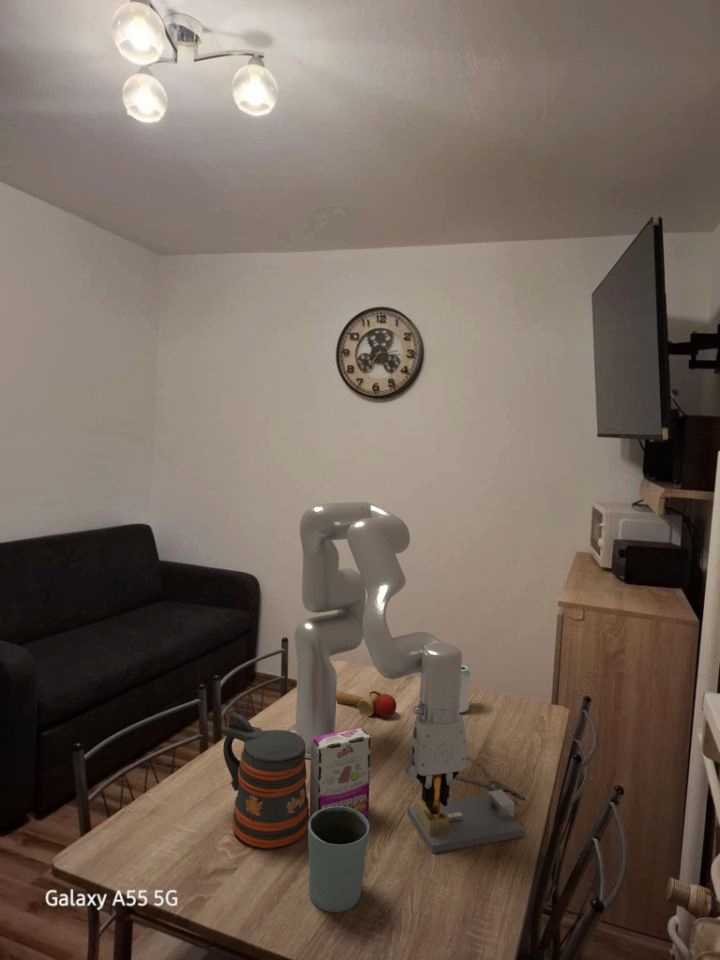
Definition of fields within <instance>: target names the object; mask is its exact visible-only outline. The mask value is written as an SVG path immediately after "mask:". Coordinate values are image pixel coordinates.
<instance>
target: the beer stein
mask: <svg viewBox="0 0 720 960" xmlns="http://www.w3.org/2000/svg"><path fill="white" fill-rule="evenodd" d="M221 735H222V736H225V739H224V742H223V749H222V750H223V757H224V761H225V764H226V767H227V769H228V772H229V774H230V777H231V779H232V780H231V781H230V785H231V787H232V788H233V790H234V792H237V794H236V796H235V797H236V798H235V800H234V809H233V819H232V830H233V832H234V834H235V835H236V836H237V837H238V838H239V839H240V840H241V841H242V842H243V843H246V844H247V845H250V846H252V847H255V848H258V847H259V849H277V847H278V848H282V847H286V846H288V845H291V844H294V843H295V842H297V841H298V840H300V839H301V838H302V837H303V836H304V835H305V834H306V832H308V822H309V819H310V803H309V798H308V794H307V783H306V780H307V777H308V775H307V765H306V758H305V754H306V749H305V742H304V740H303V739H302V738H301V737H300V736H299V735H297V734H295V733H293V732H290V731H289V730H284V729H283V730H282V729H268V730H263V729H261V728H260V727H257V726H256V727H255V726H252V724H251V723H250V722H249V720H248V719H247V718H246V717H245V716H243V715H241V714H239V713H237V712H236V711H232V712H231V713H230V714H229V718H228V725H227V726H225V727H223V728H222V729H221ZM235 739H236V740H238V741H240V742H241V741H242V742H243V743H244V744H243V750H242V752H241V753H240V760H239V758H237V757H236V755H235V753H234V751H233V743H234V741H235Z"/></svg>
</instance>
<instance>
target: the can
mask: <svg viewBox="0 0 720 960" xmlns="http://www.w3.org/2000/svg"><path fill="white" fill-rule="evenodd" d="M470 689H471V672H470V671H469V667H468V666H467V665H466V664H463V663H462V671H461V691H460V711H459V714H463V713H465V712H467V711H468V710H469V708H470V691H471V690H470Z"/></svg>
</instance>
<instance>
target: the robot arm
mask: <svg viewBox="0 0 720 960" xmlns="http://www.w3.org/2000/svg"><path fill="white" fill-rule="evenodd" d="M409 530H410V529H409V528H408V526H407V524H406V523H405V522H404V520H402V518H400V516H397V515H396V514H394V513H393V512H390V511H389V510H386V509H384V508H381V507H379V506H378V505H375V504H373V503H370V502H367V501H352V502H351V501H350V502H330V503H329V502H327V503H322V504H321V503H320V504H316V505H313V506H310V507H309V508H307V509H306V510H305V512H304V513H303V515H302V516H301V519H300V523H299V537H300V542H301V546H302V548H301V549H302V577H301V586H302V587H301V599H302V604H303V607H304V608H305V610H307V611H308V612H309V613H314V614H319V613H326V612H331V611H336V613H335V612H334V613H331V614H329V613H328V614H324V615H318V616H314V617H309V618H306V619H304V620H302V621H301V622H300V623H298V625H297V626H296V627H295V629H294V632H293V643H294V650H295V654H296V673H297V674H296V675H297V676H296V701H295V704H296V705H295V708H296V709H295V710H296V711H295V724H292V728H291V729H288V731H290V732H293V733H295V734H297V735H299V736H300V737H301V738H302V739H303V740H304V742H305V749H306V754H305V759H309V760H311V738H312V737H317V736H321V735H326V734H330V733H335V732H336V721H337V720H336V717H337V715H336V714H337V701H336V696H337V688H338V687H337V685H338V675H337V671H336V669H335V666H333V664H332V662H331V660H330V657H331V656H336V655H339V654H342V653H348V652H349V651H353V650H356V649H358V648H359V647H360V646H361V644H362V642H363V640H364V642H365V645H366V648H367V651H368V653H369V655H370V658H371V661H372V663H373V665H374V667H375V668H376V670H377V672H378V673H379V674H380V675H381V676H382V677H384V678H386V679H389V680H396V679H400V678H404V677H407V676H411V675H413V674H418V673H419V674H421V675H420V691H419V693H420V694H419V695H420V696H419V701H418V705H416V706H414V707H413V708H412V712H413V714H414V715H416V716H415V719H414V723H413V727H412V733H411V740H410V747H409V749H410V750H409V762H408V764H407V766H406V767H405V770H404V771H405V774H406V775H407V777H408V778H411V779H414V780H418V781H419V782H420V783H421V799H422V800H423V801H424V802H425V803H426V805H427V806H428V808H429V809H430V808H432V807H433V799H434V788H433V787H432V775H438V774H442V781H441V801H440V802H441V804H442V805H443V806H447V801H449V800H448V799H449V798H450V786H451V785H452V784H453V780H454V779H455V777H456V776H458V775H459V773H461V772H463V771H464V770H466V769H468V763H467V759H466V757H467V734H466V728H465V727H466V726H465V721H464V717H463V716H462V715H460V713H459V711H460V691H461V671H462V664H463V655H462V651H461V650H460V649H459V647H457V646H455V645H453V644H450V643H445V642H443V641H442V640H440V639H439V638H438V637H436V636H435V635H433V633H429V632H428V631H427V632H426V631H418V632H413V633H410V634H409V633H408V634H403V635H399V636H395V637H393V636H392V634H391V631H390V629H389V625H388V623H387V615H386V614H387V613H386V611H387V607H388V604H389V601H390V600H391V598H392V597H394V596H395V595H397V594H398V593H399V592H400V591H401V590H403V588H404V587H405V586H406V582H407V579H406V576H405V573H404V571H403V570H402V567H401V564H400V562H399V560H398V557H397V554H401V553H403V552H405V551H406V550H407V549H408V547H409V545H410V541H411V535H410V531H409ZM341 540H346V541H347V544H348V547H349V549H350V551H351V554H352V557H353V559H354V562H355V565H356V568H357V570H358V571H357V570H355V569H352V568H345V567H344V568H339V566H340V565H339V564H340V563H339V562H340V555H339V551H338V549H337V546H336V544H335V542H333V541H341ZM366 594H367V595H366ZM366 596H367V598H366Z"/></svg>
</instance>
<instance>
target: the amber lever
mask: <svg viewBox="0 0 720 960" xmlns="http://www.w3.org/2000/svg"><path fill="white" fill-rule="evenodd" d="M441 781H442V774H438V775H432V787H433V788H434V799H433V807H432V808H430V812H431V814H432V815H433V814H440V801H441ZM447 815H448V816H449V817H450V818H449V822H450V821H453V820H454V821H456V820H461V819H463V815H462V813H461V812H458V813H452V814H447Z"/></svg>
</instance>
